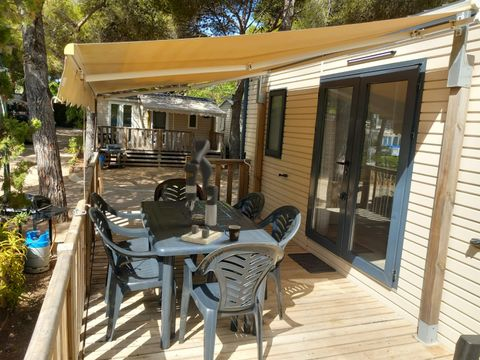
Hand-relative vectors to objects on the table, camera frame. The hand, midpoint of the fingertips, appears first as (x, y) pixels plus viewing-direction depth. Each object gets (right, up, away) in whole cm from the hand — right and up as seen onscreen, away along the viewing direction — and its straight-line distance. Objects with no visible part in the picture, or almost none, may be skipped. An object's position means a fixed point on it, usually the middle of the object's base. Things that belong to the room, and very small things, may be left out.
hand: (190, 215), depth 271 cm
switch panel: (+8, -17, +7) cm, 20 cm away
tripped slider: (+2, -13, +9) cm, 16 cm away
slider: (+11, -15, -1) cm, 19 cm away
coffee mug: (+30, -19, +5) cm, 36 cm away
